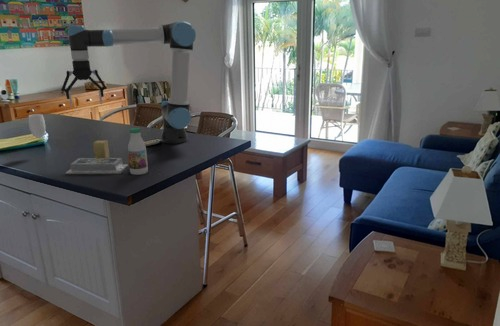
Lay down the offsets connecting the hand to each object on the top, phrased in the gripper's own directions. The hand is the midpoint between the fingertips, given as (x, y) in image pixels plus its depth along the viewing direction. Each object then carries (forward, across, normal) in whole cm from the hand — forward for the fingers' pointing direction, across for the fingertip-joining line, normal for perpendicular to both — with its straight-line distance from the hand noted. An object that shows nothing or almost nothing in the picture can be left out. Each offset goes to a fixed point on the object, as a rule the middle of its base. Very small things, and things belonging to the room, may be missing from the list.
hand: (86, 104), depth 197 cm
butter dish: (+26, -1, +25) cm, 36 cm away
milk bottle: (+26, -17, +37) cm, 48 cm away
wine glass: (+26, +24, -11) cm, 37 cm away
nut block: (+26, -4, +13) cm, 29 cm away
